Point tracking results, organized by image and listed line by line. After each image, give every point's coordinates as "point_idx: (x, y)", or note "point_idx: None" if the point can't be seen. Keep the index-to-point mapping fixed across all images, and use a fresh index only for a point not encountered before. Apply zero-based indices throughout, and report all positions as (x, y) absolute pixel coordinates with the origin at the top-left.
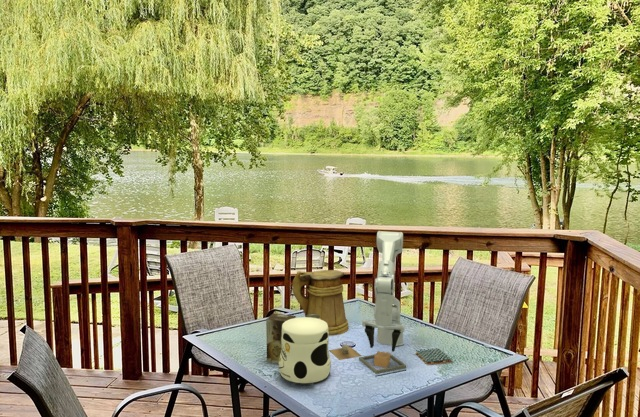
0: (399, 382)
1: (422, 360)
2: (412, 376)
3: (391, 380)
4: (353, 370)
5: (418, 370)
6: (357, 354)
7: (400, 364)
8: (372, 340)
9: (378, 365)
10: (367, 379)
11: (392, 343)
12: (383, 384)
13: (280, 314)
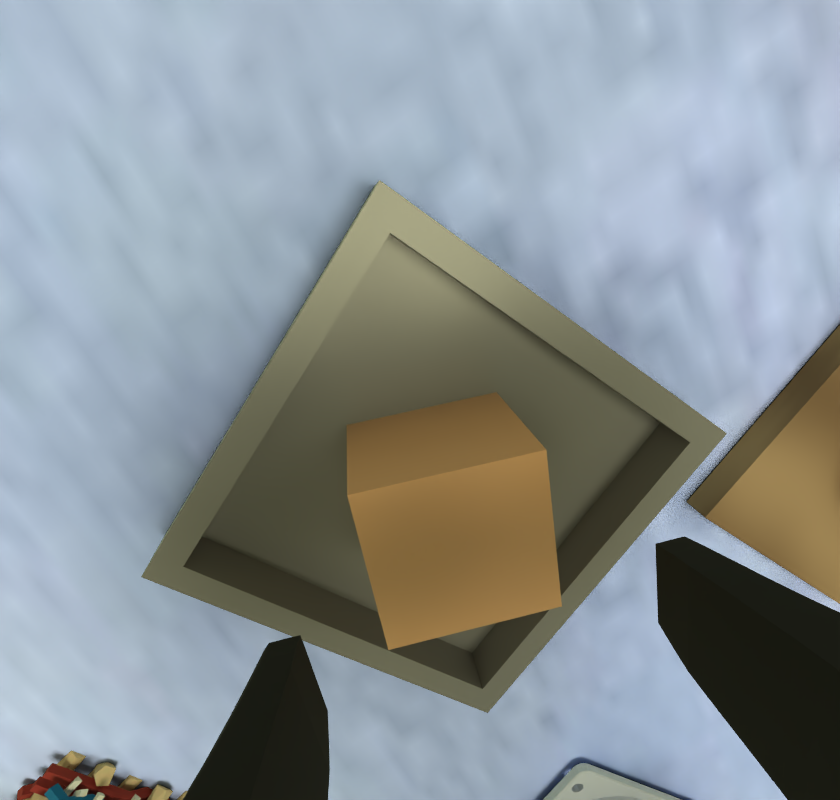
0: (33, 214)
1: (158, 788)
2: (17, 459)
3: (153, 207)
4: (679, 190)
5: (63, 614)
6: (754, 519)
7: (241, 576)
8: (757, 673)
9: (451, 413)
10: (431, 40)
11: (246, 791)
12: (169, 15)
13: None
